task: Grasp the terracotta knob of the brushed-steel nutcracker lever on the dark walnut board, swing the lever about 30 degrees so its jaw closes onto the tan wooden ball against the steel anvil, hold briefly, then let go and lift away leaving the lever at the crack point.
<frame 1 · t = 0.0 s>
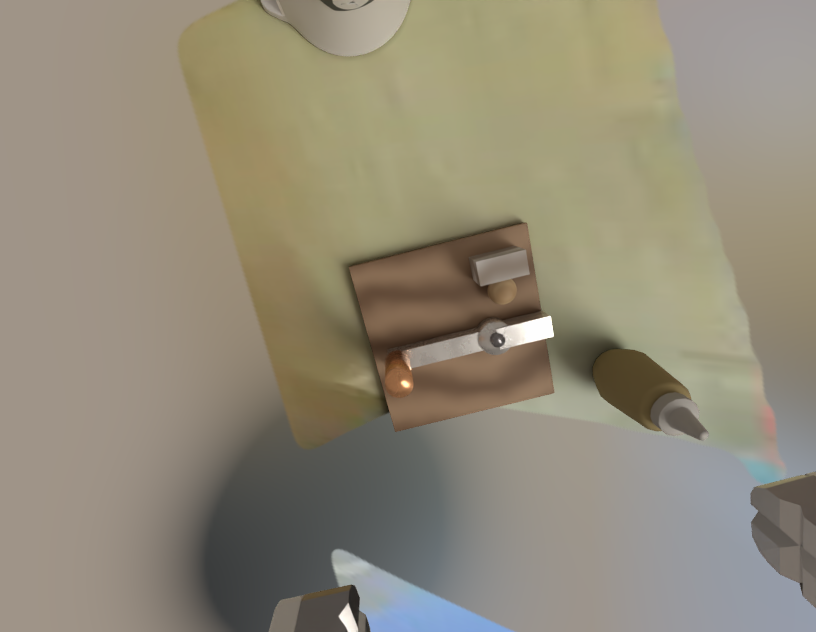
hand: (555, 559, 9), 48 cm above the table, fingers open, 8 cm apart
walnut board: (455, 330, 58), on the table
squeeze bottle: (611, 367, 61), on the table
lever: (471, 351, 52), point 6 cm above the table, hinge at 0.0°
tan wooden ball: (496, 285, 56), resting on walnut board
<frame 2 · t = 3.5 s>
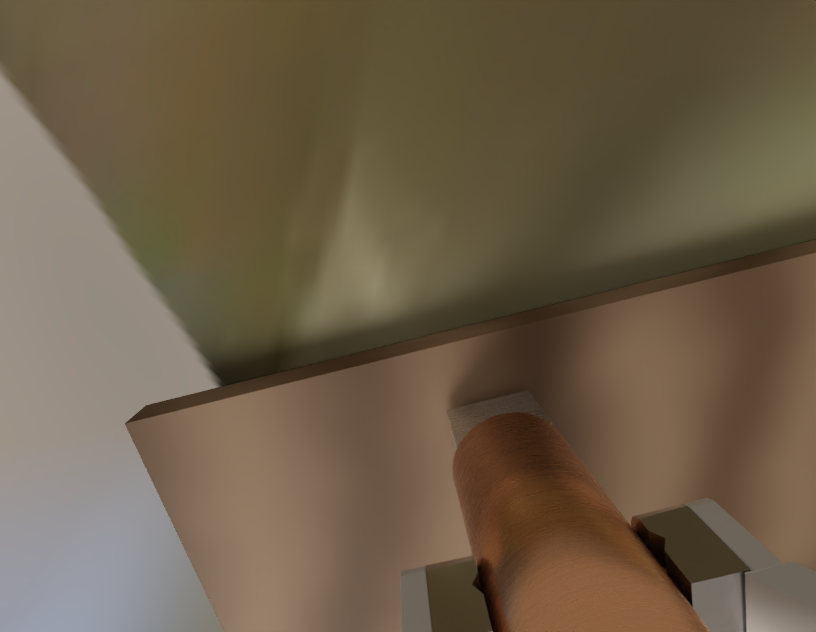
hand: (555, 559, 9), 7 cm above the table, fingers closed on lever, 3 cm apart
walnut board: (546, 584, 17), on the table
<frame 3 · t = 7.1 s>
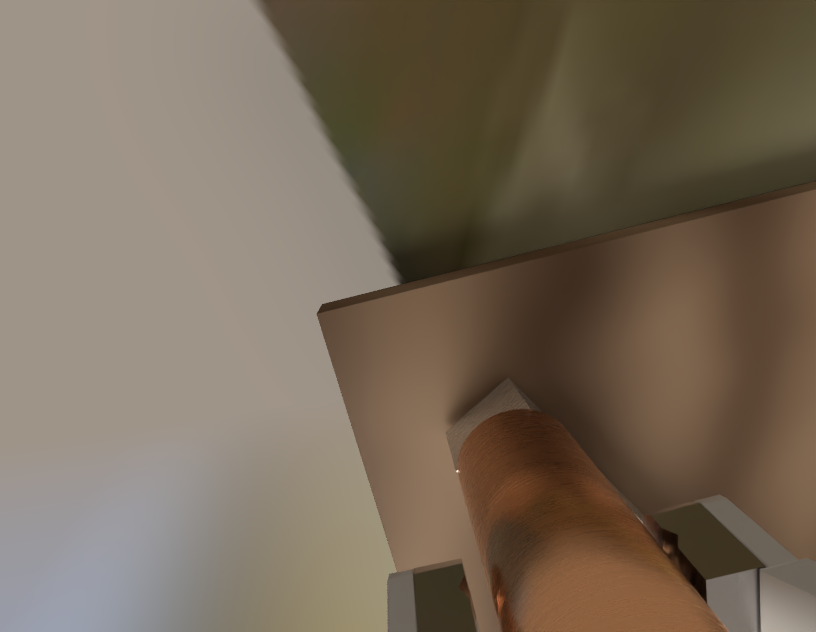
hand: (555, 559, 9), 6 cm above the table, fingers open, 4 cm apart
walnut board: (707, 508, 17), on the table
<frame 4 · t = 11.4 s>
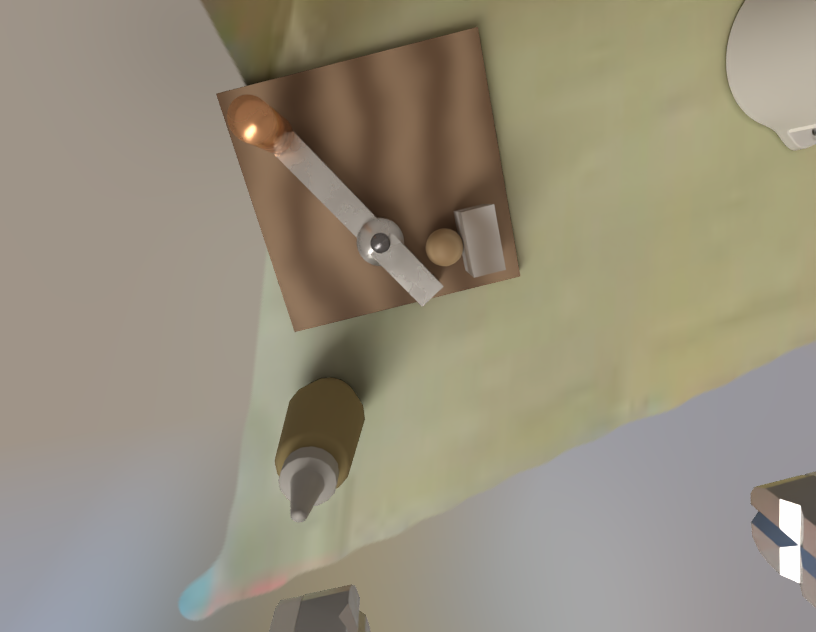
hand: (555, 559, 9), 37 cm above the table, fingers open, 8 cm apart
walnut board: (379, 191, 42), on the table
squeeze bottle: (330, 400, 48), on the table
lever: (349, 213, 37), point 6 cm above the table, hinge at 30.4°
tan wooden ball: (440, 244, 44), resting on walnut board
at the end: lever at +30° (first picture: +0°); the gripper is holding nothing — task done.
